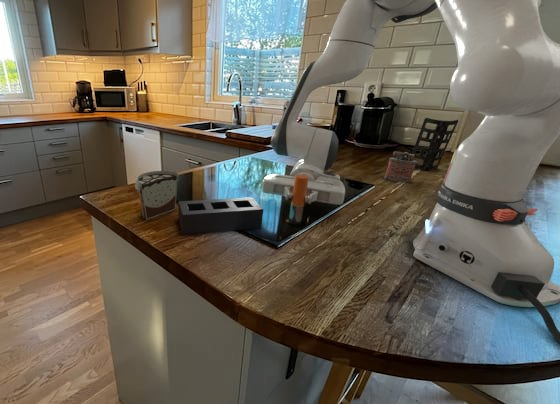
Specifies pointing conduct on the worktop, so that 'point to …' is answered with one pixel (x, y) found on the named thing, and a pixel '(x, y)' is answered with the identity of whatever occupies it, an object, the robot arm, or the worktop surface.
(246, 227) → the pen holder
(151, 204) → the food container
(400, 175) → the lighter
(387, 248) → the worktop surface
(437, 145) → the holder
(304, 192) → the orange cylinder
